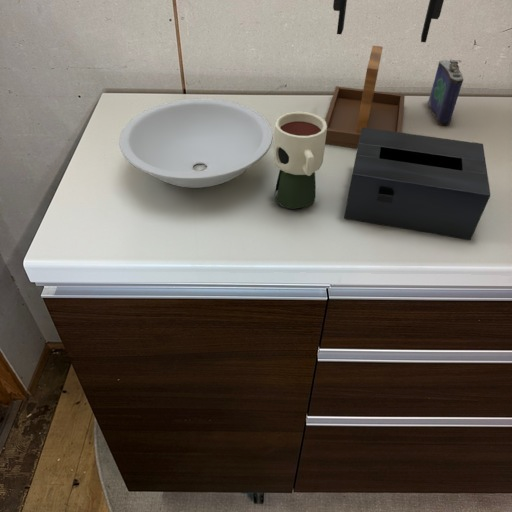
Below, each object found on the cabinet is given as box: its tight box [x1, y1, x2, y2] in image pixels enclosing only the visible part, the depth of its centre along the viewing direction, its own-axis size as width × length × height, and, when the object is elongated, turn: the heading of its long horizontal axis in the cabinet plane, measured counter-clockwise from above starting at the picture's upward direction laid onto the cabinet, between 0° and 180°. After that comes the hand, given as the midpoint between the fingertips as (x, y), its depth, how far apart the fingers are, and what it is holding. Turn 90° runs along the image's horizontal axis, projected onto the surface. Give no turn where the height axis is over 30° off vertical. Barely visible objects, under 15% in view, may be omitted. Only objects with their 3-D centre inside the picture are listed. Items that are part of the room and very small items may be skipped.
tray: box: [324, 85, 406, 149], centre depth 89 cm, size 18×14×3 cm
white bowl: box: [118, 97, 274, 189], centre depth 77 cm, size 24×24×7 cm
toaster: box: [343, 127, 492, 241], centre depth 70 cm, size 18×14×8 cm
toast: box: [356, 45, 384, 133], centre depth 85 cm, size 10×2×12 cm, turn 165°
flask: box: [427, 59, 464, 127], centre depth 89 cm, size 9×3×11 cm, turn 1°
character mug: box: [273, 111, 327, 210], centre depth 69 cm, size 11×7×13 cm, turn 12°
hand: (381, 35), depth 78 cm, fingers open, 13 cm apart
